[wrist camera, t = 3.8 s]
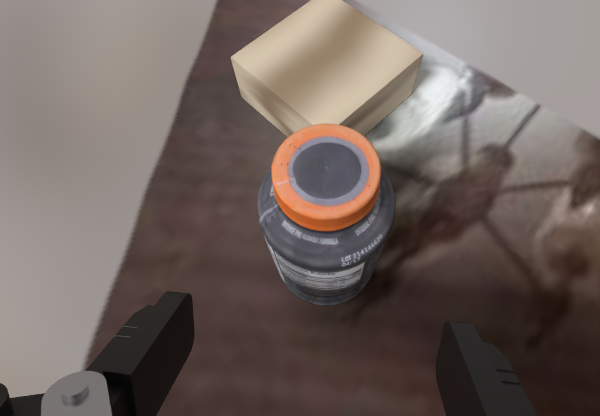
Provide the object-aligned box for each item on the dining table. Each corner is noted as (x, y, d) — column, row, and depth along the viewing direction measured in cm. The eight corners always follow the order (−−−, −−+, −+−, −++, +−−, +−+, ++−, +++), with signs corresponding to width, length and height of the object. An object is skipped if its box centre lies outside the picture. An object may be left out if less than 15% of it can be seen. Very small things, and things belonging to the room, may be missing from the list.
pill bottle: (324, 197, 26) (326, 74, 16) (393, 258, 24) (447, 162, 14) (257, 259, 24) (210, 166, 14) (325, 329, 22) (329, 281, 12)
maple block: (410, 95, 29) (423, 53, 25) (325, 169, 27) (325, 135, 23) (325, 34, 32) (325, -10, 28) (241, 97, 30) (230, 57, 26)
